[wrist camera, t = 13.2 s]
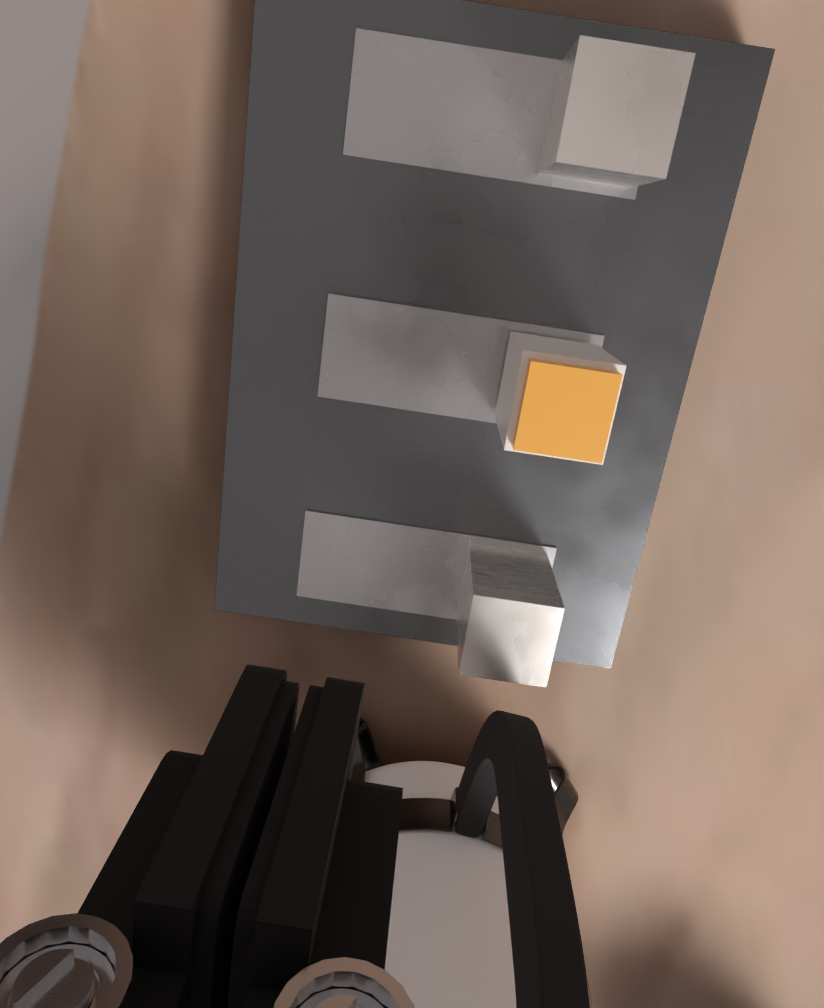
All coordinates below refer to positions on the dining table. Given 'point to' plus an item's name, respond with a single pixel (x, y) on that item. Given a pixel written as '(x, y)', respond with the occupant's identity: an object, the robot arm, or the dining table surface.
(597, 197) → the panel
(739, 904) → the dining table surface
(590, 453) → the toggle
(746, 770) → the dining table surface
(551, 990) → the coffee press
